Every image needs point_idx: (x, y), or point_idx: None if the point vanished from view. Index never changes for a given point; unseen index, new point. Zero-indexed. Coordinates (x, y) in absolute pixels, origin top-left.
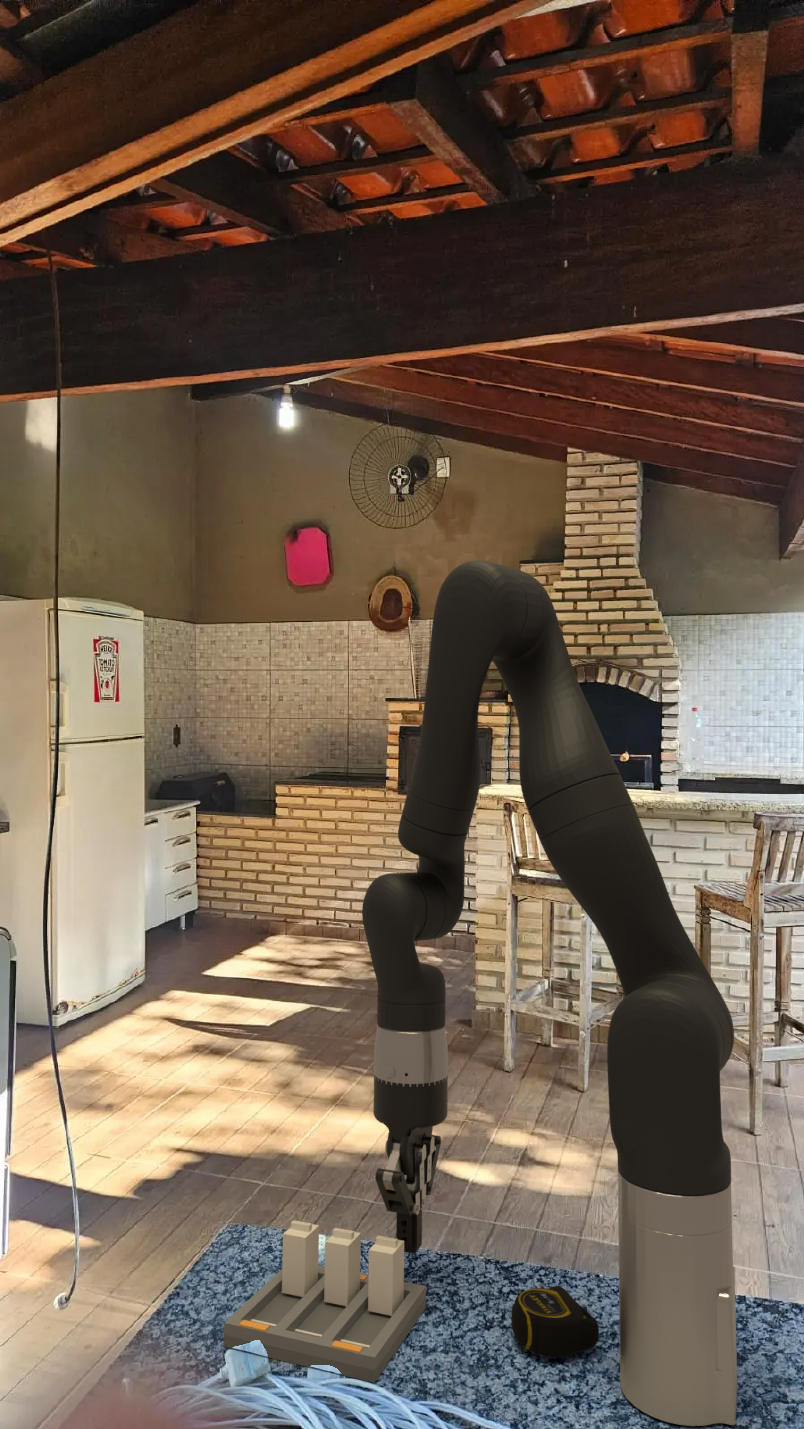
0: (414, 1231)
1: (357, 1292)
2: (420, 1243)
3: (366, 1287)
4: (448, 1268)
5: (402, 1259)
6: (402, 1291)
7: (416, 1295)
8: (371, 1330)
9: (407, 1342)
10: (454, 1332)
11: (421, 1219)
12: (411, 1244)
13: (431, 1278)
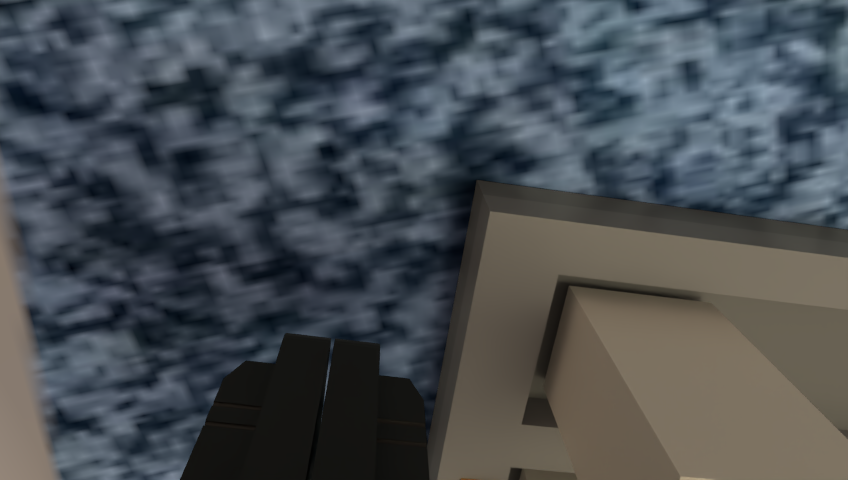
0: (378, 433)
1: (552, 473)
2: (313, 344)
3: (554, 458)
4: (51, 144)
5: (663, 404)
6: (597, 309)
7: (594, 237)
8: (793, 351)
9: (763, 198)
10: (668, 7)
11: (265, 441)
12: (411, 396)
13: (189, 207)
